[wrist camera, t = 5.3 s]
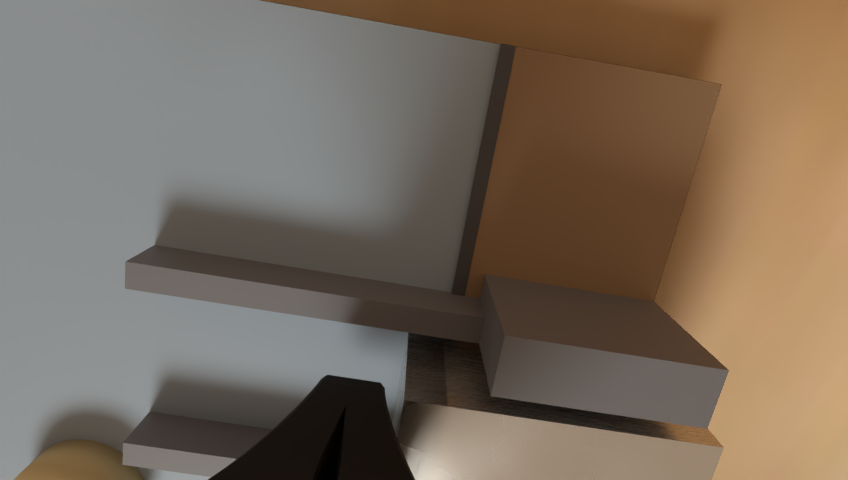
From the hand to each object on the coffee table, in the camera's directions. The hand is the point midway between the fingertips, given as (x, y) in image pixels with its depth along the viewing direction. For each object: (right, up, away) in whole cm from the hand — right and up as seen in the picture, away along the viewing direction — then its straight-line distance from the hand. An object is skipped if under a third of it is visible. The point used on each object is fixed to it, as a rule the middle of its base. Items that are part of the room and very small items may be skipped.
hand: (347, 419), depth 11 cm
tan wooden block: (+4, 0, +2) cm, 4 cm away
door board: (-1, +1, +3) cm, 3 cm away
